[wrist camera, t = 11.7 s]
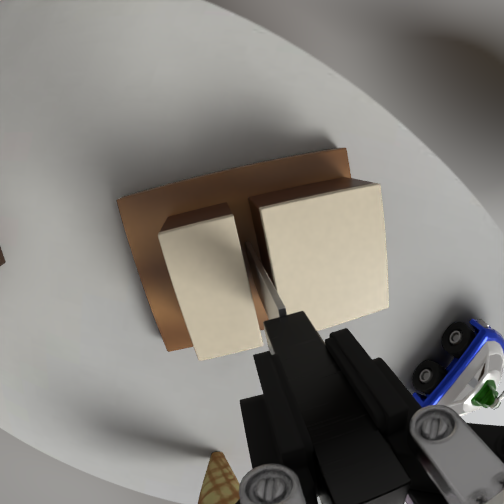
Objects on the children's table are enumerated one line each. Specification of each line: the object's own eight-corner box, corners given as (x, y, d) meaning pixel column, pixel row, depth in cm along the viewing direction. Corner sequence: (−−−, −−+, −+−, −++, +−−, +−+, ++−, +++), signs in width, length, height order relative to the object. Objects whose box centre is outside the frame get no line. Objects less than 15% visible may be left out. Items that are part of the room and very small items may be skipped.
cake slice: (167, 216, 21) (157, 234, 16) (226, 201, 21) (233, 215, 16) (198, 322, 23) (198, 361, 19) (251, 309, 24) (263, 346, 19)
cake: (247, 197, 21) (260, 209, 17) (344, 176, 22) (380, 183, 17) (270, 304, 24) (286, 340, 19) (357, 280, 24) (388, 307, 20)
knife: (234, 244, 21) (335, 506, 4) (258, 238, 21) (415, 472, 4) (244, 285, 22) (337, 548, 5) (267, 280, 22) (396, 524, 5)
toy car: (491, 331, 32) (539, 368, 23) (434, 405, 34) (472, 451, 25) (463, 303, 29) (522, 343, 20) (396, 390, 31) (439, 446, 22)
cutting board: (121, 197, 21) (115, 199, 20) (338, 147, 23) (346, 147, 21) (169, 342, 25) (167, 352, 24) (356, 293, 26) (364, 300, 25)
